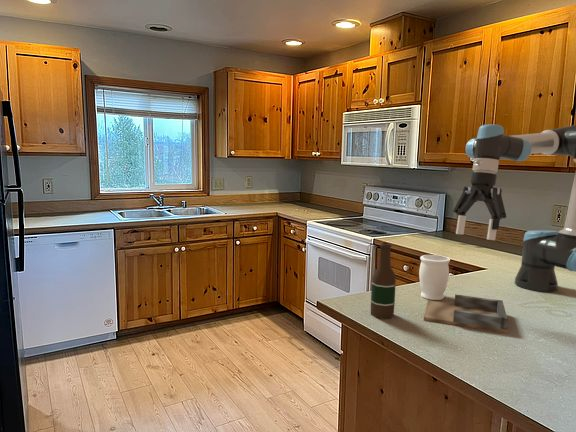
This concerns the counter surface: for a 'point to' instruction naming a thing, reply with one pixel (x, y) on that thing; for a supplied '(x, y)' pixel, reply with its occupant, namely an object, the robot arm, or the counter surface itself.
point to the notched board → (448, 314)
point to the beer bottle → (383, 286)
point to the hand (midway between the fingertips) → (474, 237)
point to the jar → (433, 276)
